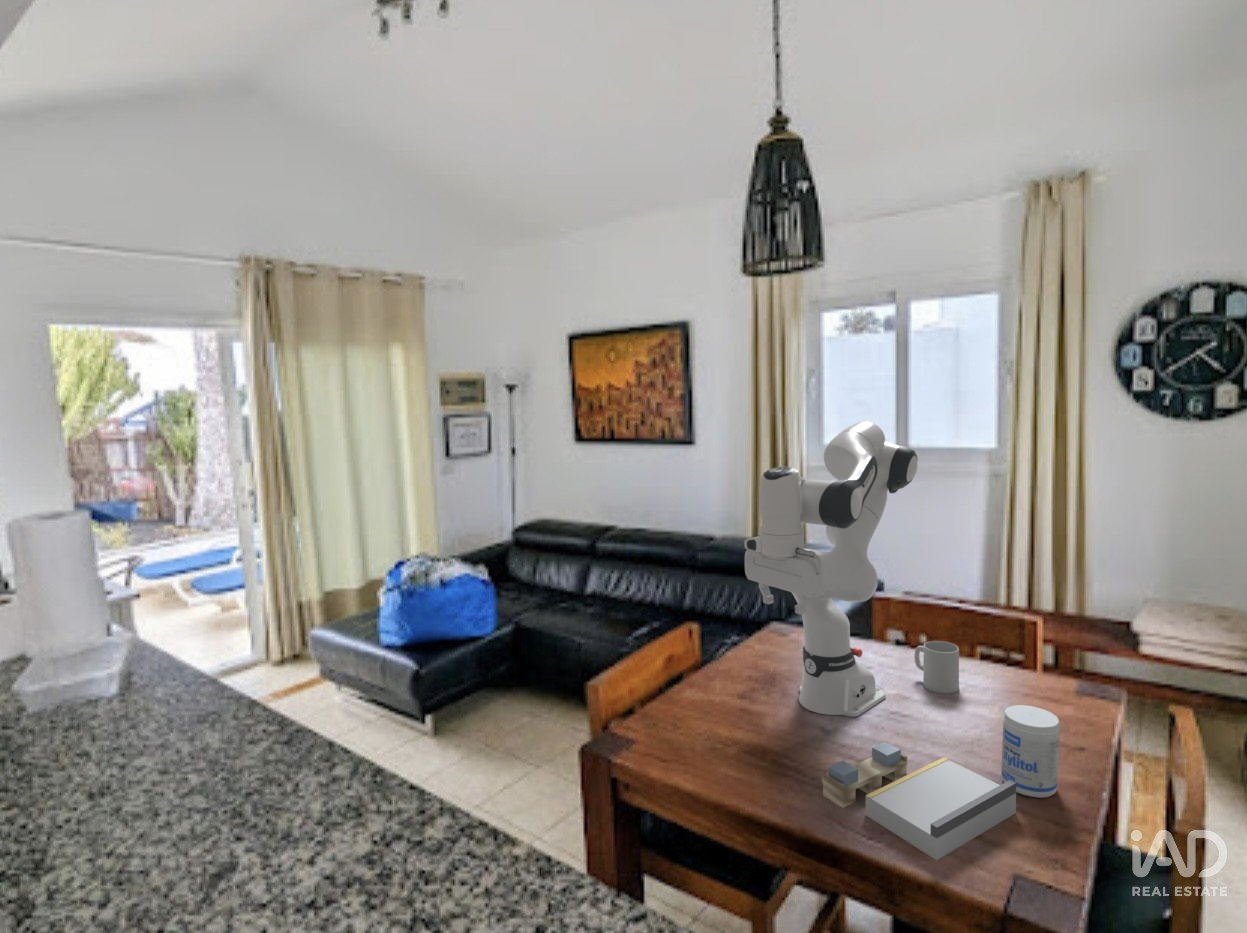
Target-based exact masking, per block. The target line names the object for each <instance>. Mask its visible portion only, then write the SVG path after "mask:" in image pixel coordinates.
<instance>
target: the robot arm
mask: <svg viewBox="0 0 1247 933" xmlns="http://www.w3.org/2000/svg"><path fill="white" fill-rule="evenodd" d="M823 461H824V464H825V467H826V469H827V472H829V473H830V475H831V476H833V478H834V479H836V480H831V479H830V480H828V479H827V480H826V479H812V478H805V477H803V476H801V475H800V474H799V471H798V469H796V468H795V467H792V466H779V467H773V468H768V470H766V471H764V472H763V473H762V475H761V479H760V485H759V499H758V500H759V514H760V517H761V526H760V530H759V531H760V532H759V533H760V535H758V536H754V537H753V536H752V537H750V538H746V539H745V540H744V542H743V545H744V546H743V547H744V548H745V553H744V573H745V576H746V578H747V580H748V581H752V582H756V583H758V589H759V590H760V593H761V595H762V602H763V603H764V604H765V605H766V604H767V605H772V604H773V603H774V602H775V600H774V598H775V597H774V595H773V594H772V592H771V590H770V587H773V588H775V589H780V590H783V591H787V592H789V593H791V594H792V595H793V597H794V599H795V601H796V603H797V604H795V605H794V613H795V614H798V615H801V618H802V624H803V638H804V639H803V640H804V646H803V647H802V662H803V667H802V675H801V676H802V677H801V685H800V686H799V697H798V701H799V703H800V705H801V706H802V707H803V708H805V709H807V710H808V711H810V712H814V713H816V714H817V713H818V714H821V715H826V716H827V715H829V716H846V717H853V718H854V717H855V718H856V717H858V716H860V715H862V714H863V713H864V712H866V711H868V710H869V709H871V708H872V707H874V706H875V705H877V704H878V703H880V702H881V701H883V700H885V699H886V696H887V695H886V693H885V691H884V690H882V689H881V688H880V687H878V686H876V678H875V676H874V674H873V673H872V671H871V670H870V669H868V668H867V667H865V666H863V665H862V664H861V663H859V662H858V661H856V658H855V656H856V657H857V658H861V657H863V656H862V655H863V650H862V649H861V648H858V647H853V648H852V647H851V637H850V636H851V631H850V630H851V628H850V626H851V624H850V621H849V618H848V616H847V615H846V613H845V612H843V610H841V609H840V608H839V607H838V606H837V604H836V603H835V601H834V599H835V600H839V601H842V602H852V603H853V602H858V603H859V602H860V603H861V602H866V601H868V600H870V599H871V598H872V596H873V595H874V594H875V592H876V590H877V587H878V582H879V580H878V574H877V571H876V569H875V567H874V566H873V564H872V563H871V562H870V560H869V558H868V548H869V545H870V542H871V540H872V538H873V535H874V533H875V532H876V529H877V527H878V526H879V523H880V521H881V519H882V517H883V514H884V511H885V507H886V504H887V499H888V492H889V494H896V493H897V492H898V491H899V490H901V489H904V488H905V487H906V486H908V485H910V483H911V482H912V481H913V479H914V477H915V476H916V474H917V470H918V466H919V464H918V455H917V452H916V451H915V450H913V449H912V448H910V447H909V446H905V445H902V444H901V445H898V444H895V443H891V442H889V441H886V437H885V433H884V431H883V429H882V428H881V427H880V426H879V425H877V424H876V423H874V422H870V421H859V422H856V423H855V424H852V425H850V426H848V427H847V428H845V429H843V430H842V431H841V432H840V433H838V434H837V435H836V436H835V437H834V438H832V439H831V440H830V442H829V443H828V444H827V445H826V448H825V449H824V454H823ZM804 523H805V524H808V525H809V524H812V525H824V526H826V528H825V534H826V537H827V539H828V541H829V542H830V543H831V545H833V547H834V548H833V550H831V551H824V550H823V551H822V550H816V549H811V548H805V546H804V544H805V542H804V540H805V539H804V527H803V525H802V524H804Z"/></svg>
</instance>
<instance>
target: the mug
mask: <svg viewBox="0 0 1247 933" xmlns="http://www.w3.org/2000/svg"><path fill="white" fill-rule="evenodd" d="M920 652H922V653H923V664H922V662H921V659H920V654H921V653H920ZM914 663H915V666H916V668H917V669H919V670H920V671H922V672H923V679H922V680H923V681H922V682H923V683H922V684H923V686H924V688H925V689H927V690H928V691H930V692H933V693H938V694H942V695H943V694H944V695H945V694H946V695H948V694H956V693H957V692H958V691H959V689H960V649H959V646H957V645H956V644H954V643H951V642H948V641H941V640H931V641H927V642H925V643H924V644H923V645H918V646H917V647H915V651H914Z"/></svg>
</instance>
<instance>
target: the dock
mask: <svg viewBox="0 0 1247 933" xmlns="http://www.w3.org/2000/svg"><path fill="white" fill-rule="evenodd" d="M1016 813H1017V792H1016V782H1013V781H1011V780H1009V781H1007V782H1005V783H1004V782H1003V783H1002V784H999V783H996V782H994V781H992V780H990V779H988V778H986V777H984V776H982V775H980V774H979V773H975V772H974V771H972V770H970V769H968V768H967V767H964V766H962V765H960V764H958V763H956V762H953V761H951V760H949V759H948V758H946V757H941V758H940V759H937V760H935V761H933V762H931V763H929V764H927V765H925V766H923V767H921V768H919V769H916V770H915V771H913V772H911V773H909V774H906V776H904V777H902V778H900V779H898V780H896V781H894V782H893V781H891V782H890V783H888V784H887V785H884V786H882V788H880V789H878V790H876V791H874V792H871V793H869V794H867V793H866V795H865V816H866V817H867V818H869V819H871V820H873V821H875V822H876V823H878V824H879V825H881V826H882V827H884V828H885V829H887V831H890V832H891V833H893V834H894V835H896V836H898V837H900V838H901V839H902V840H904V841H906V842H907V843H908V844H910V845H911V846H914V847H915V848H917V849H918V850H920V851H921V852H923V853H924V854H926V855H928V856H929V857H930V858H931V859H932V858H933V860H935V861H938V860H940V859H942V858H944V857H946V856H947V855H948V854H950V853H952V852H954V851H956V850H957V849H958V848H960V847H962V846H963V845H965V844H967V843H968V842H970V841H972V840H973V839H976V838H977V837H979V836H980V835H982V834H984V833H985V832H987V831H988V830H990V829H992V828H993V827H995V826H997V825H999V824H1000V823H1001V822H1004V821H1005V820H1007V819H1008V818H1011V816H1013V815H1015V814H1016Z"/></svg>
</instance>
